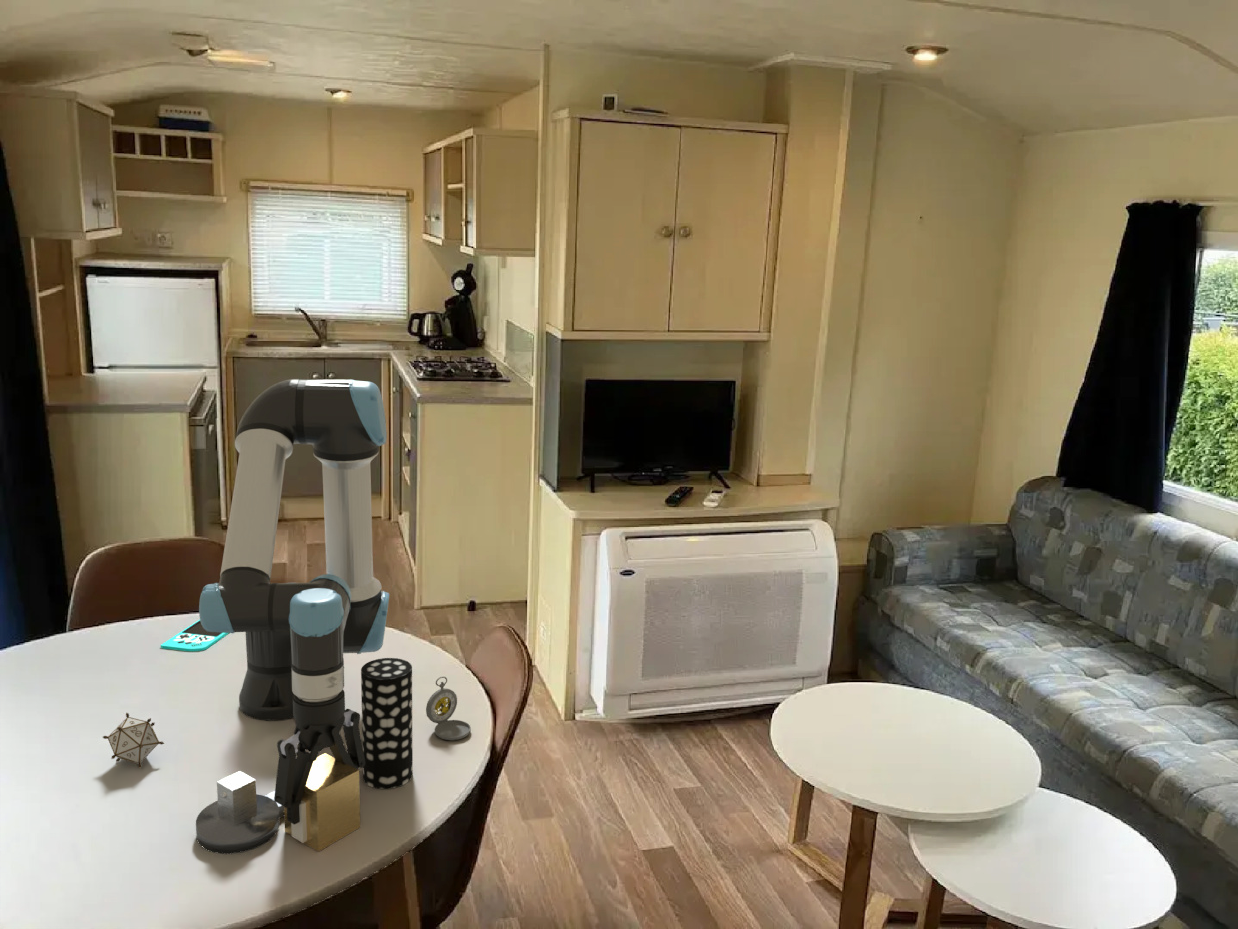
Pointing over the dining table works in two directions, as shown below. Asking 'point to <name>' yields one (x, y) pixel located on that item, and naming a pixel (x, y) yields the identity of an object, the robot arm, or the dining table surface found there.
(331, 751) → the robot arm
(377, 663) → the white-spotted black cylinder
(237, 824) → the grey handled disc
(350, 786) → the golden tan block
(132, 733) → the game die
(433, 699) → the pocket watch
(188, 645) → the handheld game console
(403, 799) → the dining table surface
